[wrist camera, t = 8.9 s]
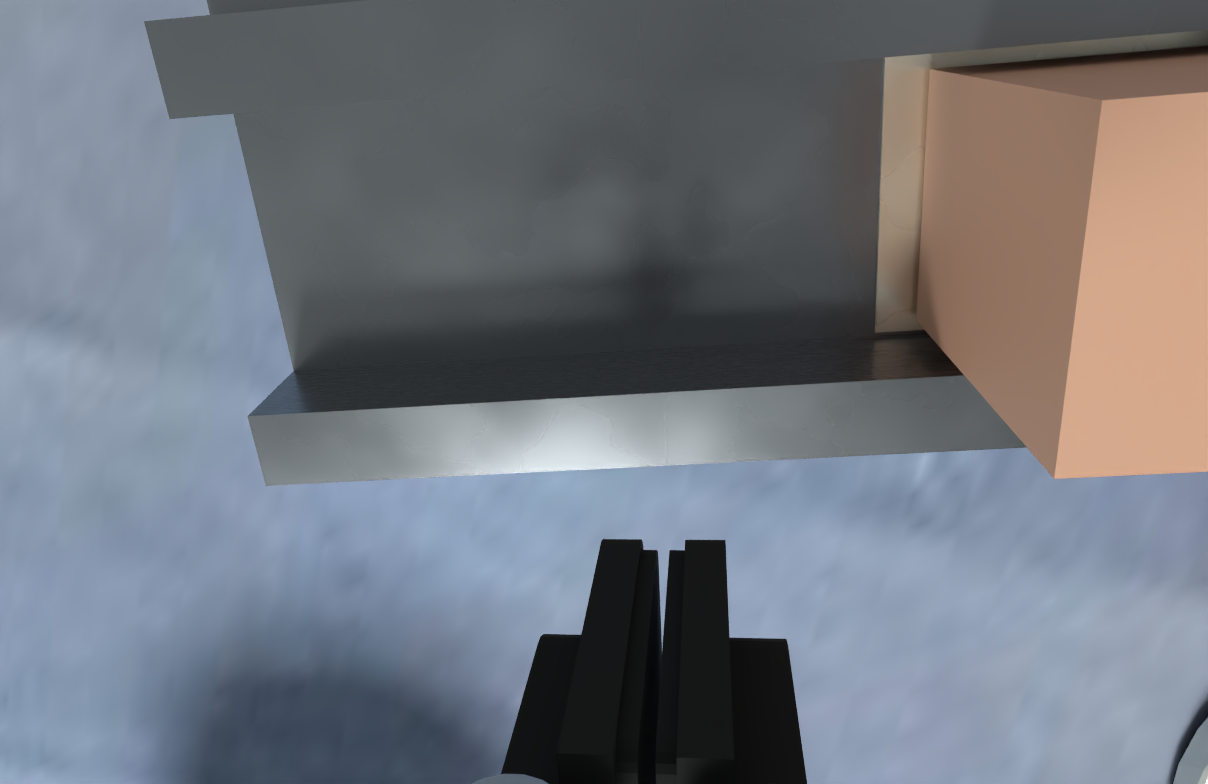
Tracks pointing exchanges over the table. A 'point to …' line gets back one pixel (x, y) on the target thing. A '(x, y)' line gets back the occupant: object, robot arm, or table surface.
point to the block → (1075, 253)
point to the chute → (605, 221)
